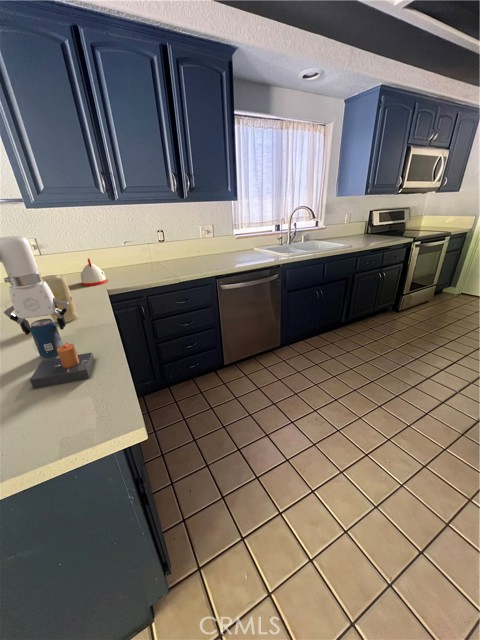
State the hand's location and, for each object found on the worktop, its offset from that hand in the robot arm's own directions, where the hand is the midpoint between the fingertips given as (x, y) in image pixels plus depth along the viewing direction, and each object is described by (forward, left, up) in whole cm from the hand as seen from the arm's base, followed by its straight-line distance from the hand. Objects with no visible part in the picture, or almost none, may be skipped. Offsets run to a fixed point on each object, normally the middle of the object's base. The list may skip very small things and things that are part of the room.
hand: (46, 330), depth 86 cm
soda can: (0, 0, -9) cm, 9 cm away
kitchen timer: (0, +91, -9) cm, 91 cm away
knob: (+9, -14, -6) cm, 17 cm away
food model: (-3, +30, -9) cm, 31 cm away
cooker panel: (+7, -14, -9) cm, 18 cm away
